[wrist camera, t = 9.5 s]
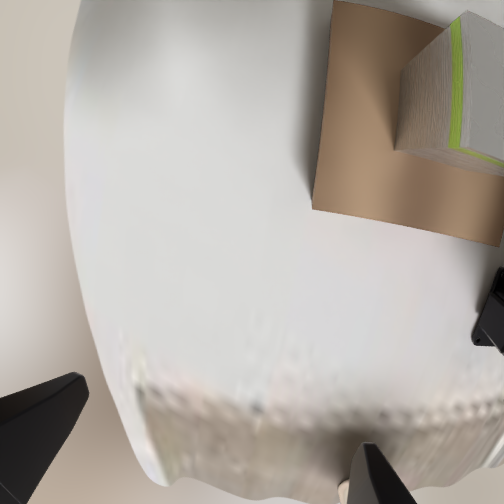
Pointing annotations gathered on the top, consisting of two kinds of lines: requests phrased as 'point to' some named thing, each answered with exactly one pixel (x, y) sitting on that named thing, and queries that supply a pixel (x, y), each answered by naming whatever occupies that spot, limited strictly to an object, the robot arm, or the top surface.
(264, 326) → the top surface
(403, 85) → the metal column
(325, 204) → the walnut riser
